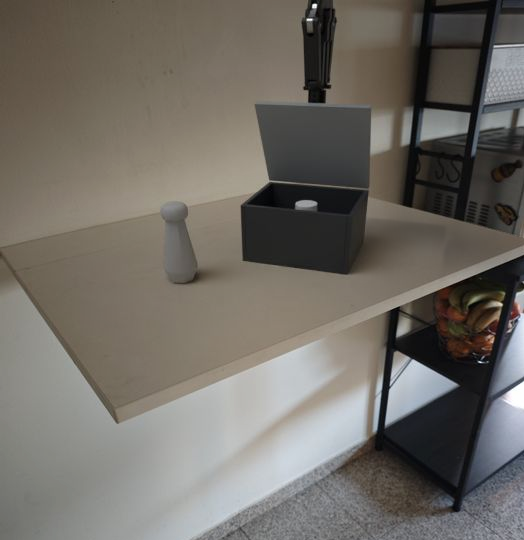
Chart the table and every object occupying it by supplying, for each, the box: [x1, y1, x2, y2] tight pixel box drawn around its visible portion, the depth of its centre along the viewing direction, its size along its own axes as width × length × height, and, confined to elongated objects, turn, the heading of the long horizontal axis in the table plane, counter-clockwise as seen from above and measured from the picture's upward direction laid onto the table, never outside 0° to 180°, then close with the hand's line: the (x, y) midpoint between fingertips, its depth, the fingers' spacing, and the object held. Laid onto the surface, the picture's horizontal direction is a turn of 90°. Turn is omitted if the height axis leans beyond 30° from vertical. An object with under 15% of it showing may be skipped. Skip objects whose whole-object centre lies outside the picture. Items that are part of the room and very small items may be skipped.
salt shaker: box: [159, 200, 199, 284], centre depth 82 cm, size 6×6×13 cm
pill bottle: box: [295, 200, 317, 211], centre depth 92 cm, size 5×5×8 cm
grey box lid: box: [254, 100, 372, 190], centre depth 88 cm, size 16×20×1 cm
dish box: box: [240, 181, 370, 275], centre depth 92 cm, size 16×20×10 cm
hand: (315, 131), depth 87 cm, fingers closed
